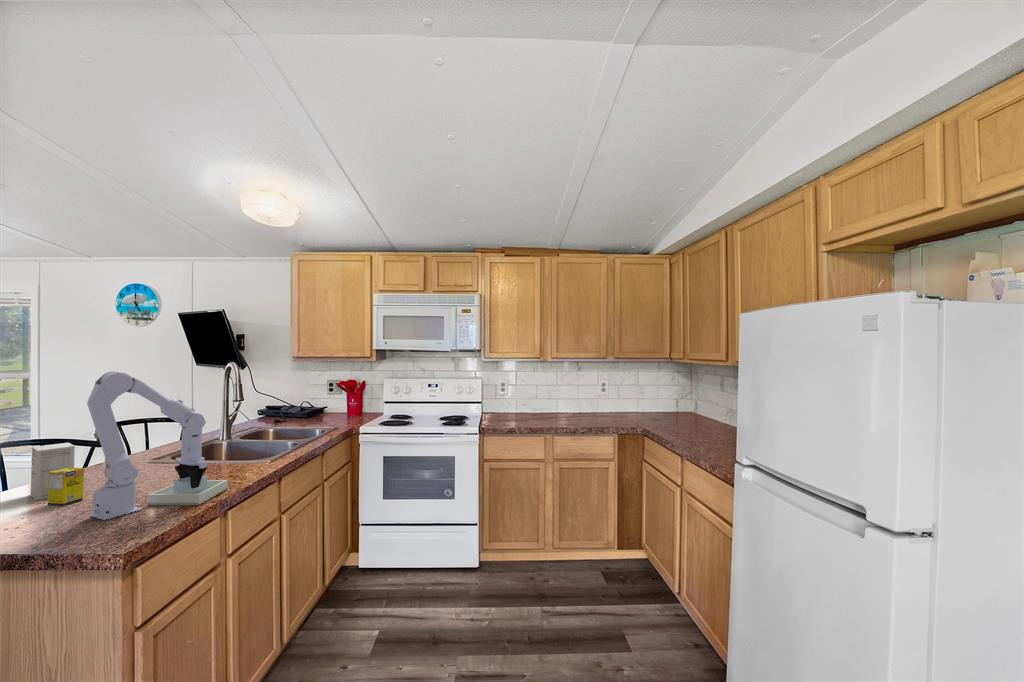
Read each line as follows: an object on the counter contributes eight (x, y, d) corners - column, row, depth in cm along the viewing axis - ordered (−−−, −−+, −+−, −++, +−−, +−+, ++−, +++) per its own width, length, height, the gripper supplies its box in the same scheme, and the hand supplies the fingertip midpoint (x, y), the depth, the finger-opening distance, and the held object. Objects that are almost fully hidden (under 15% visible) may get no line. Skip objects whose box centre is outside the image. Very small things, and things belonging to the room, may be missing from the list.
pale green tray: (199, 505, 142) (199, 494, 142) (147, 505, 140) (148, 494, 140) (227, 489, 158) (227, 479, 158) (181, 489, 156) (182, 480, 156)
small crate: (182, 497, 144) (182, 482, 145) (173, 495, 146) (173, 480, 147) (207, 490, 152) (207, 476, 152) (198, 488, 154) (198, 474, 154)
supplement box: (83, 500, 144) (84, 467, 145) (63, 506, 138) (64, 472, 139) (67, 499, 145) (69, 466, 145) (46, 505, 139) (48, 471, 139)
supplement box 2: (68, 488, 156) (70, 441, 157) (74, 493, 151) (76, 445, 151) (29, 495, 148) (31, 446, 149) (34, 500, 143) (36, 450, 144)
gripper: (216, 447, 150) (215, 486, 150) (191, 442, 156) (190, 480, 156) (195, 451, 144) (193, 491, 143) (169, 446, 150) (168, 485, 149)
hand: (190, 486), depth 149 cm, fingers closed on small crate, 5 cm apart
